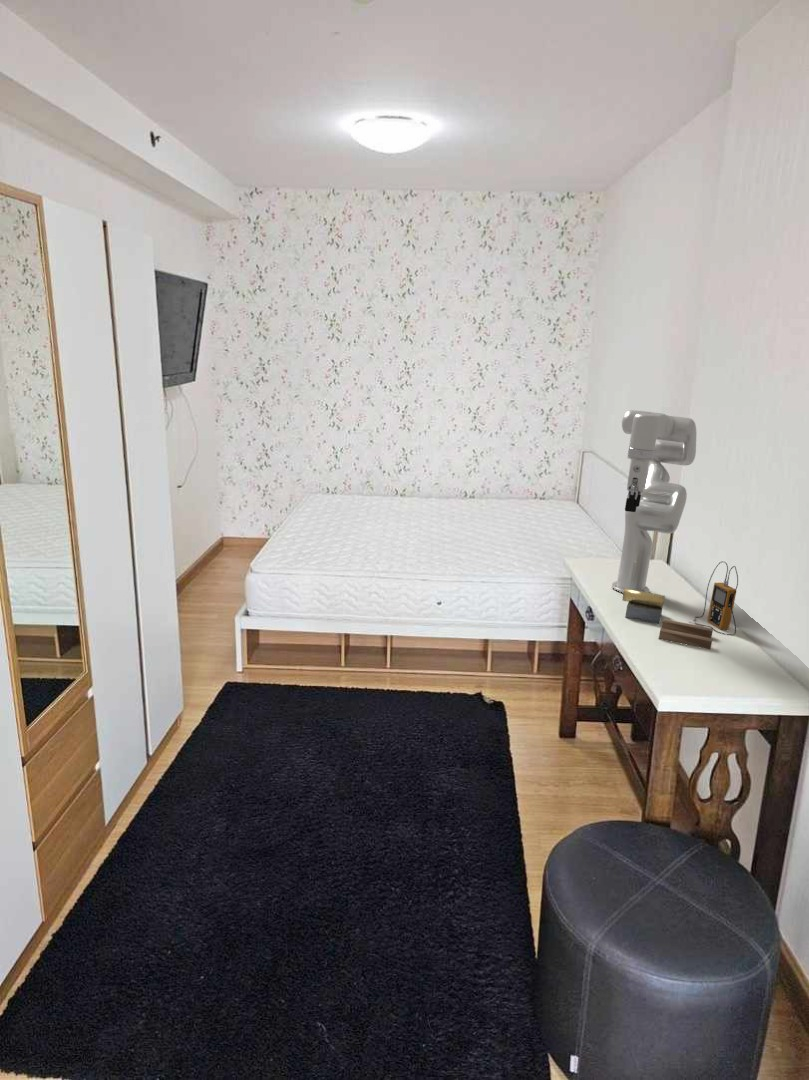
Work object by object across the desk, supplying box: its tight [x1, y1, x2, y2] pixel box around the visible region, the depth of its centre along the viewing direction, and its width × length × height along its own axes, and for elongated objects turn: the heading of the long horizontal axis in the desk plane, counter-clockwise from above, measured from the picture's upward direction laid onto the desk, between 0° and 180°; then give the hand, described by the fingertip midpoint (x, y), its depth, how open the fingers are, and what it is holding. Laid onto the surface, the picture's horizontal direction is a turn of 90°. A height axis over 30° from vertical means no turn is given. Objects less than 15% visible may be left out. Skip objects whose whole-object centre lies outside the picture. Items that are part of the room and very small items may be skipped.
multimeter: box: [688, 561, 739, 636], centre depth 220 cm, size 15×10×20 cm
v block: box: [625, 602, 664, 625], centre depth 227 cm, size 10×10×4 cm
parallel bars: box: [658, 618, 714, 651], centre depth 212 cm, size 12×14×2 cm
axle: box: [622, 588, 666, 608], centre depth 226 cm, size 12×4×4 cm, turn 66°
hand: (631, 508), depth 227 cm, fingers open, 9 cm apart
